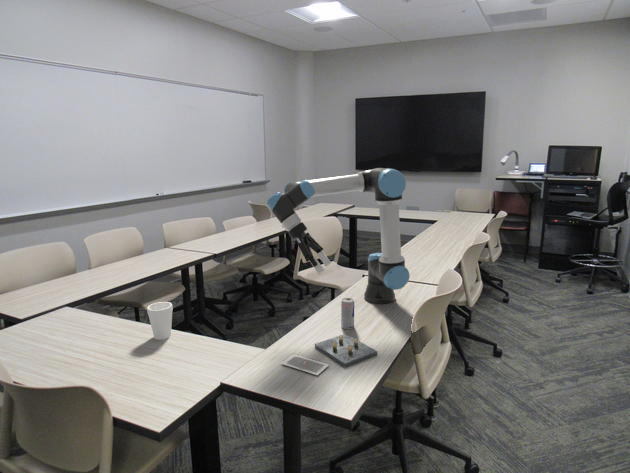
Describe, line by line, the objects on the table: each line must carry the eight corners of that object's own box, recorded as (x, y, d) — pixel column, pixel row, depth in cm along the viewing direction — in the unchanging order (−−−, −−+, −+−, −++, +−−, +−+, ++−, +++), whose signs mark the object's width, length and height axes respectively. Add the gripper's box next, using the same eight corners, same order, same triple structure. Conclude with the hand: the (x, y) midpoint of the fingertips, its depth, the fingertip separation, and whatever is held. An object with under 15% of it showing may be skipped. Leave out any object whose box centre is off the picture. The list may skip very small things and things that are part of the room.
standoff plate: (346, 337, 165) (346, 327, 164) (377, 355, 151) (377, 344, 150) (314, 347, 157) (314, 337, 156) (344, 367, 143) (344, 356, 142)
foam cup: (179, 333, 170) (177, 303, 167) (163, 343, 162) (160, 312, 159) (162, 329, 174) (159, 300, 171) (145, 339, 166) (141, 308, 163)
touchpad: (293, 356, 151) (293, 351, 151) (329, 367, 144) (329, 361, 143) (280, 366, 145) (280, 360, 144) (317, 378, 137) (317, 372, 137)
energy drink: (355, 325, 176) (355, 298, 174) (352, 330, 171) (352, 303, 169) (343, 323, 178) (343, 297, 175) (339, 328, 173) (339, 301, 170)
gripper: (296, 228, 184) (324, 266, 184) (278, 236, 160) (310, 280, 160) (309, 218, 182) (337, 257, 182) (293, 225, 158) (326, 270, 158)
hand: (325, 268), depth 171 cm, fingers open, 13 cm apart
